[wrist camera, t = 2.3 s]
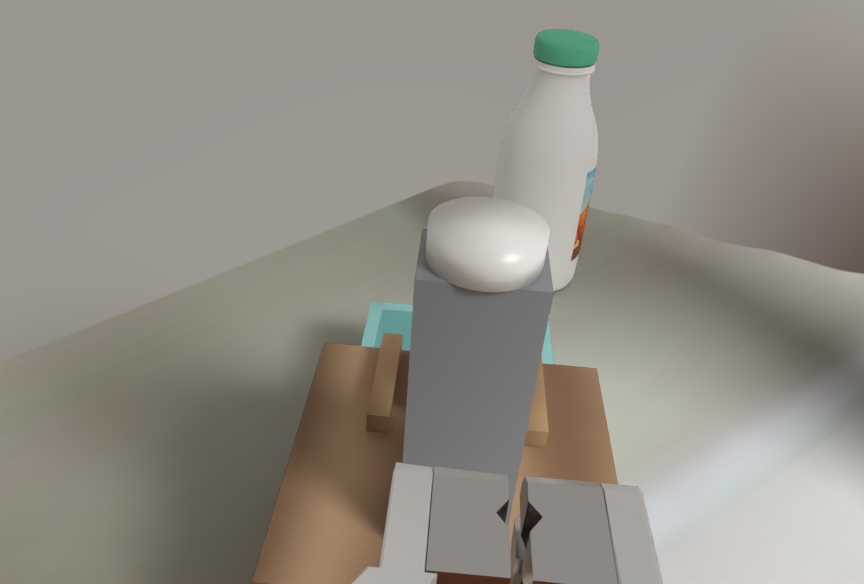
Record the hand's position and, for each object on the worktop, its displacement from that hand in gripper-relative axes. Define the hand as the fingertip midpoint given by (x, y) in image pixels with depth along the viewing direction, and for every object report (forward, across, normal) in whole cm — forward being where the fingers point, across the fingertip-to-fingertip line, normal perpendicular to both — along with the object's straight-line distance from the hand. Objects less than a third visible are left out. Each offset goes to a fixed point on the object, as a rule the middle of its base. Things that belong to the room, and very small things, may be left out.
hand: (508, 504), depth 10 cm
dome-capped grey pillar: (+13, 0, +16) cm, 20 cm away
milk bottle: (+48, -6, +26) cm, 55 cm away
